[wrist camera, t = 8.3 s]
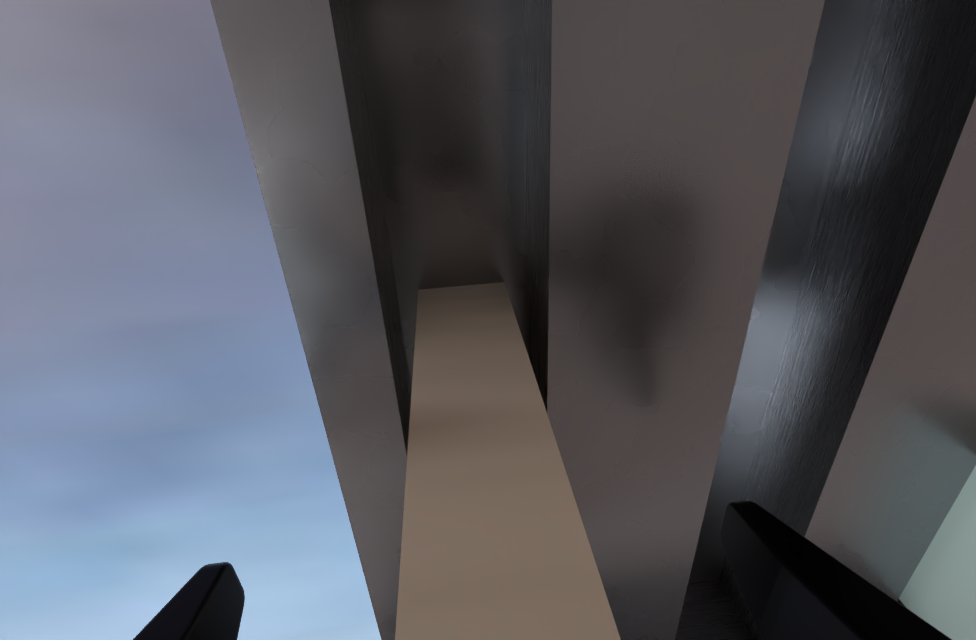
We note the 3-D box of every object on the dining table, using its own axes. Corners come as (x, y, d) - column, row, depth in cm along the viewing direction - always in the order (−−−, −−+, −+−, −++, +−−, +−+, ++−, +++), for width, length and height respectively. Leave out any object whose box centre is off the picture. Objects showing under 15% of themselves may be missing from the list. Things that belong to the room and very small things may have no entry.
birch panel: (511, 470, 14) (611, 989, 6) (443, 478, 14) (456, 1018, 6) (504, 282, 11) (670, 793, 3) (418, 289, 11) (382, 840, 3)
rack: (898, 555, 20) (1107, 775, 14) (410, 618, 19) (398, 892, 12) (1292, -174, 10) (2867, -609, 3) (248, -147, 8) (-307, -779, 2)
